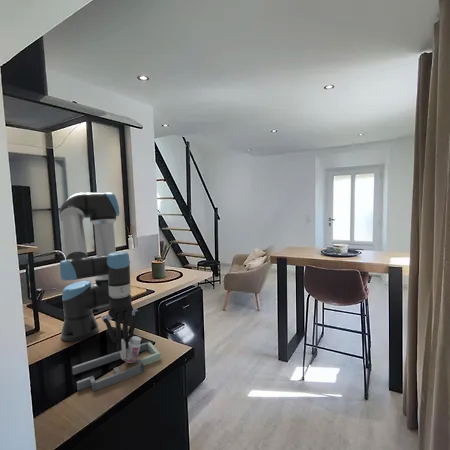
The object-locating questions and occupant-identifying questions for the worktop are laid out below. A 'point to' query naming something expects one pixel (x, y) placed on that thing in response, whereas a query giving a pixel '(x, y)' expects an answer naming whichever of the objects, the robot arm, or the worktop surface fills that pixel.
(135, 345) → the pill bottle
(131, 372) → the channel
